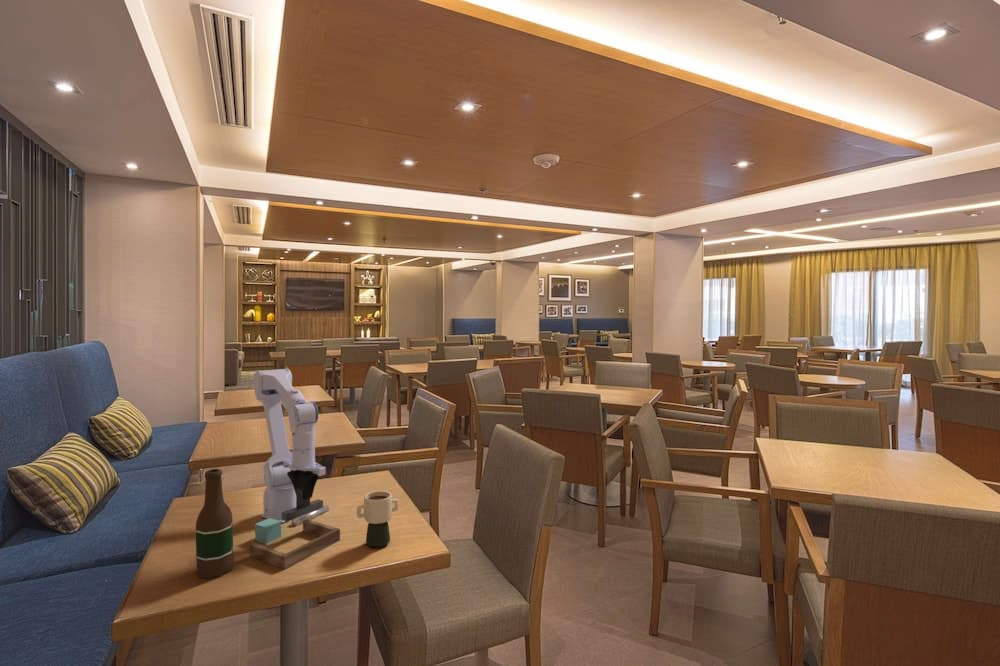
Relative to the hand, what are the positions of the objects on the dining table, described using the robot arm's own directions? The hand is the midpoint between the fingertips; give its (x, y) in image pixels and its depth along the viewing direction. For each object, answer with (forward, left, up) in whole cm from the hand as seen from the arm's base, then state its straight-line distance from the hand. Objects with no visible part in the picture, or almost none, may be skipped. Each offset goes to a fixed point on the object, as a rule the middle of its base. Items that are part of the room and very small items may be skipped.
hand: (304, 497), depth 139 cm
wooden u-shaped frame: (+4, -7, -10) cm, 13 cm away
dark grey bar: (0, -1, -4) cm, 4 cm away
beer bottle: (-3, -24, -11) cm, 26 cm away
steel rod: (-7, +8, -11) cm, 15 cm away
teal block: (-6, -7, -10) cm, 14 cm away
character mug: (+21, +5, -11) cm, 24 cm away
